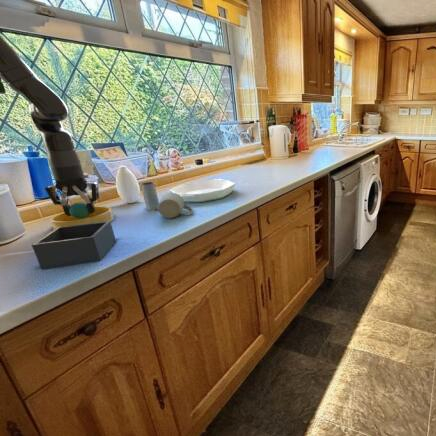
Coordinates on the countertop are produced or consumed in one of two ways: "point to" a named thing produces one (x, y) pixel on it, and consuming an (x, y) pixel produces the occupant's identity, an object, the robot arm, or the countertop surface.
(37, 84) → the robot arm
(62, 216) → the bowl
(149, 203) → the grey cylinder
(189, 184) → the white oval serving dish
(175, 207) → the ceramic mug
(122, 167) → the sauce bottle
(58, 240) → the bin
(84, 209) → the toy ball
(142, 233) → the countertop surface
